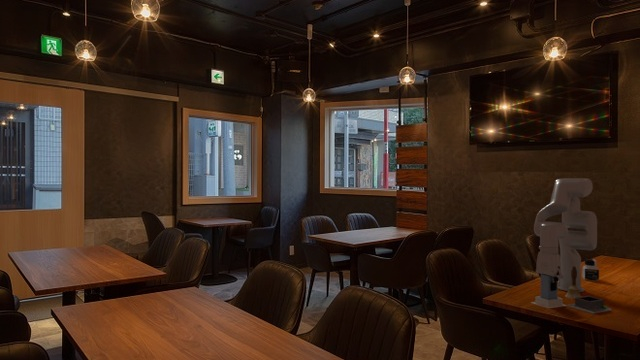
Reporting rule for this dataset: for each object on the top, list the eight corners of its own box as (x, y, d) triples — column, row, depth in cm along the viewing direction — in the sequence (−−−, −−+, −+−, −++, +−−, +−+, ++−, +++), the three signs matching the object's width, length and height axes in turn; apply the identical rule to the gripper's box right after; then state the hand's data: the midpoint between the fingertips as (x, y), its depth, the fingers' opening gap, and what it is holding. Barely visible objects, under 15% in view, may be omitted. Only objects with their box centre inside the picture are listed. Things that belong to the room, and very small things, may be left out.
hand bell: (586, 299, 211) (586, 267, 211) (578, 302, 206) (578, 269, 206) (569, 295, 217) (569, 264, 217) (560, 298, 213) (560, 266, 213)
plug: (540, 297, 201) (540, 271, 201) (549, 296, 203) (549, 269, 203) (548, 300, 197) (548, 272, 197) (557, 298, 199) (557, 271, 199)
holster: (530, 304, 202) (530, 296, 202) (548, 301, 207) (548, 293, 207) (549, 310, 193) (549, 301, 193) (567, 307, 197) (567, 299, 197)
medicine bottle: (584, 280, 251) (584, 260, 251) (582, 277, 258) (582, 257, 258) (599, 281, 249) (599, 260, 249) (596, 278, 255) (596, 258, 255)
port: (567, 307, 197) (567, 296, 197) (585, 304, 201) (585, 294, 201) (593, 315, 186) (593, 303, 186) (611, 312, 190) (611, 300, 190)
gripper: (528, 248, 206) (528, 285, 206) (559, 253, 191) (559, 294, 191) (539, 246, 209) (539, 284, 209) (571, 252, 193) (571, 292, 194)
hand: (549, 288), depth 200 cm, fingers closed on plug, 4 cm apart
